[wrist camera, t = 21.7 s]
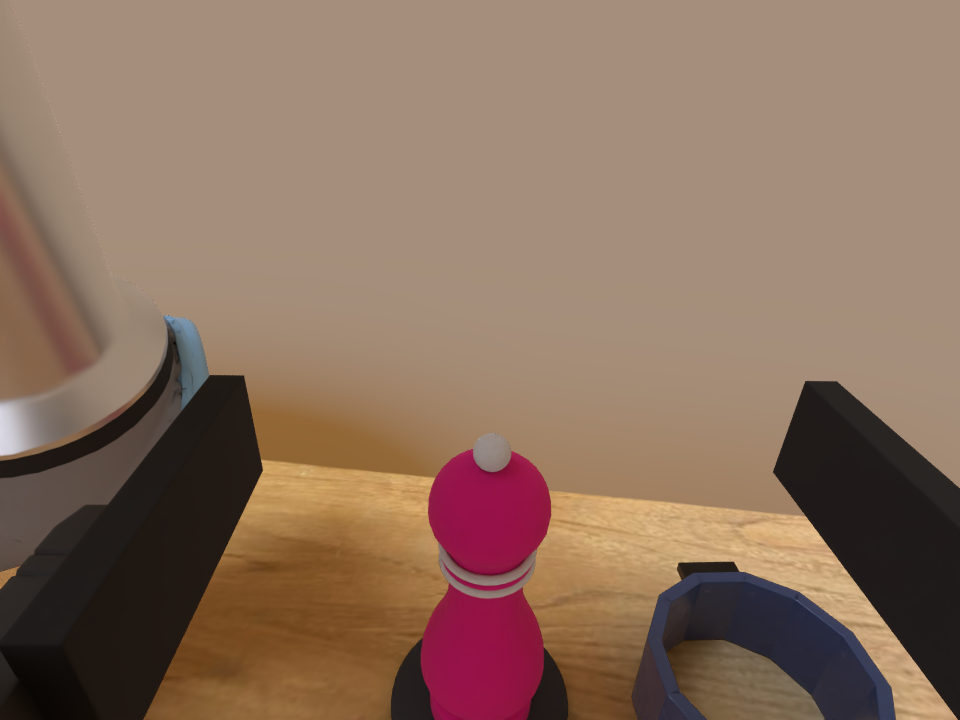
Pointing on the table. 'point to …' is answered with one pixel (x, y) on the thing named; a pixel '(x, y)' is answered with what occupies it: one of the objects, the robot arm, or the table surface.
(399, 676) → the coaster
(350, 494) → the table surface
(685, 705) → the pot
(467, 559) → the pepper mill
